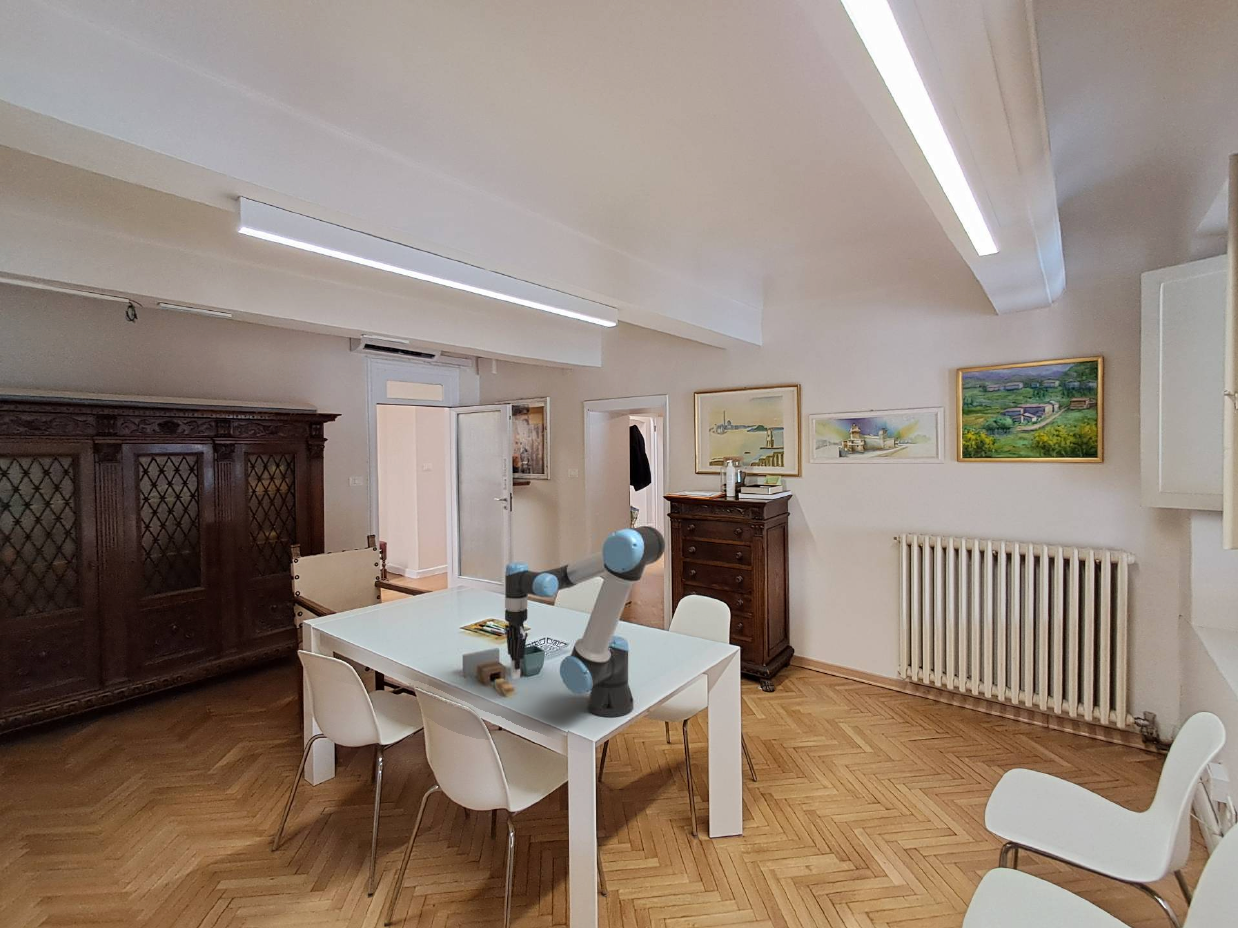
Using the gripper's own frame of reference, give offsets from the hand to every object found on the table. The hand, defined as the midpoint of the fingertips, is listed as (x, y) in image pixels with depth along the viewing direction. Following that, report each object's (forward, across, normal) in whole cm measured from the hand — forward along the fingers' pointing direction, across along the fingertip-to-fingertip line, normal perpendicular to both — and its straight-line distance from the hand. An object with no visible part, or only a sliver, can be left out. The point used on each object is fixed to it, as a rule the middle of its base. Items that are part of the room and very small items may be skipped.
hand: (515, 677), depth 194 cm
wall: (+8, +31, 0) cm, 32 cm away
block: (+8, +21, 0) cm, 23 cm away
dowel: (+8, +9, 0) cm, 12 cm away
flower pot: (+8, +19, -15) cm, 26 cm away
